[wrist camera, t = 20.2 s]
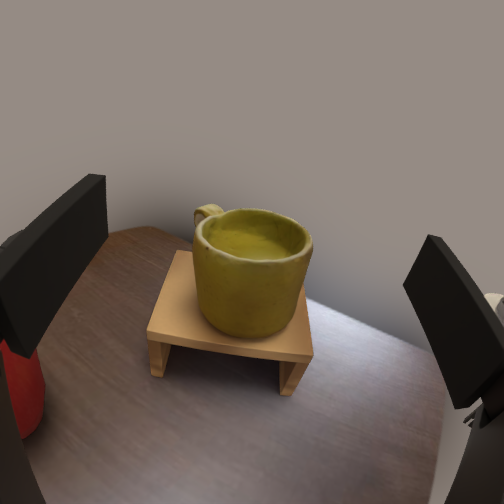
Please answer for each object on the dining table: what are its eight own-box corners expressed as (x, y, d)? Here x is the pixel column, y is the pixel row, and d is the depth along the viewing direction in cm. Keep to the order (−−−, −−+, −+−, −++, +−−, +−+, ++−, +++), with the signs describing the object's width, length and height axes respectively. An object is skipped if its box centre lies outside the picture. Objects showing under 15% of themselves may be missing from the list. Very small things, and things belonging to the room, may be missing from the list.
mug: (338, 316, 27) (334, 214, 22) (237, 375, 24) (198, 277, 18) (269, 259, 36) (252, 178, 31) (188, 297, 33) (156, 215, 28)
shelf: (286, 314, 39) (301, 270, 35) (291, 396, 29) (313, 355, 25) (175, 296, 38) (177, 249, 34) (151, 375, 28) (146, 330, 24)
